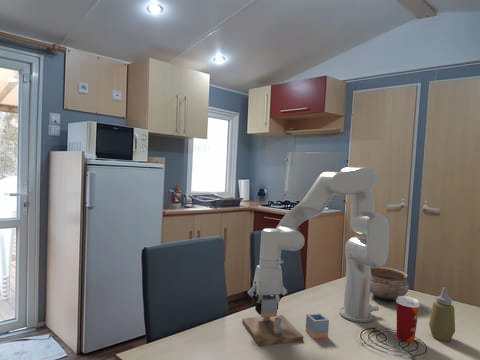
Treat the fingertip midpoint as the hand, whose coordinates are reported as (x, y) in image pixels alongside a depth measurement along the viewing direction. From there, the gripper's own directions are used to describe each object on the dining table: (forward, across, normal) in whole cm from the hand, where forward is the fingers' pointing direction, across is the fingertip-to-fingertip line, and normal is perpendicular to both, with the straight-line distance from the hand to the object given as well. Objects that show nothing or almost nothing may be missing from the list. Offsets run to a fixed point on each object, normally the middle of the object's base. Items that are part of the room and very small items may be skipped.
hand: (266, 311), depth 125 cm
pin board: (+5, 0, +5) cm, 7 cm away
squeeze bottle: (+5, -59, +21) cm, 63 cm away
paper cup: (+5, -45, +19) cm, 49 cm away
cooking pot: (+5, -66, -16) cm, 68 cm away
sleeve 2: (+5, -15, +10) cm, 19 cm away
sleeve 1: (+1, 0, 0) cm, 1 cm away
